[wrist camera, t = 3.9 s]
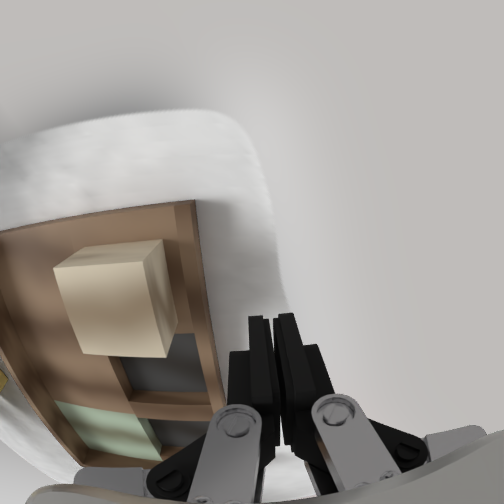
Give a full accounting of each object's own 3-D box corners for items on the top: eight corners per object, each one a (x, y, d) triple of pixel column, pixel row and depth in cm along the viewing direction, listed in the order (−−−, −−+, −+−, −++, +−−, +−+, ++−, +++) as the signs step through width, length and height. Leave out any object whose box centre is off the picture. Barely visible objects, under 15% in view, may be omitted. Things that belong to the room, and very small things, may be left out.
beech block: (178, 321, 19) (166, 357, 15) (105, 322, 19) (83, 353, 15) (162, 239, 17) (142, 261, 13) (84, 247, 17) (53, 268, 13)
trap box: (237, 454, 28) (238, 486, 23) (90, 440, 27) (80, 466, 22) (194, 199, 18) (179, 213, 13) (-6, 232, 18) (-40, 248, 13)
